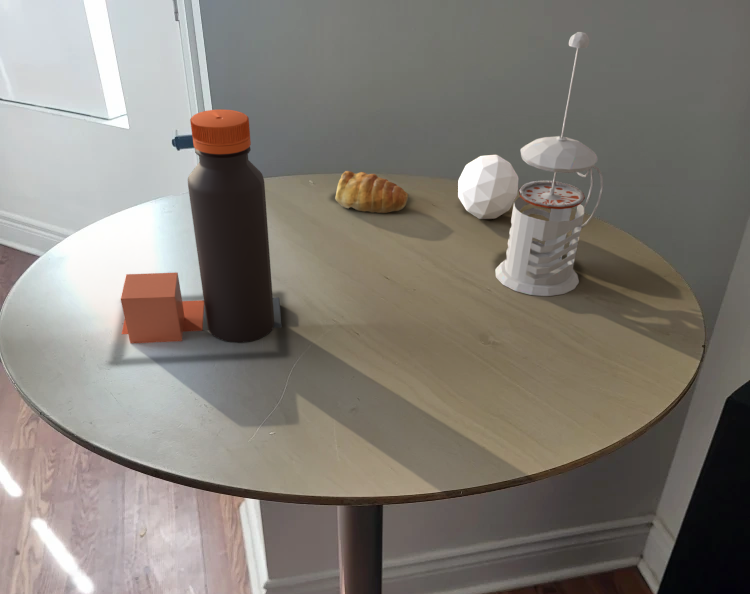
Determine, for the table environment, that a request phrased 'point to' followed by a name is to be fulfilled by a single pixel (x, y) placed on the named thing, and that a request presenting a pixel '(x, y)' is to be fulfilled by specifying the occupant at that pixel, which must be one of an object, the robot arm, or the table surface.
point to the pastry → (369, 193)
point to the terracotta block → (153, 307)
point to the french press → (531, 258)
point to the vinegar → (230, 228)
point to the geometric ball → (488, 186)
